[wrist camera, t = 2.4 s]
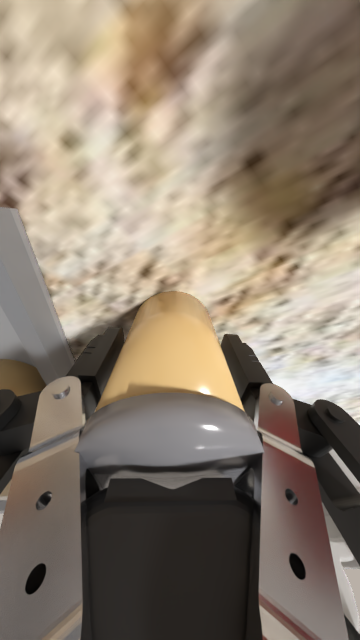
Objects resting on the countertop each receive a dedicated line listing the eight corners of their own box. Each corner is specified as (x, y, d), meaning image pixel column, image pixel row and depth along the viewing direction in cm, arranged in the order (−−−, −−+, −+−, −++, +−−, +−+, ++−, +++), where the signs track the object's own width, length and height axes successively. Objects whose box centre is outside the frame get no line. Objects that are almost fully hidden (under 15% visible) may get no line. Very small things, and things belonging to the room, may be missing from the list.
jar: (130, 285, 10) (28, 425, 3) (220, 292, 10) (308, 430, 3) (135, 353, 13) (91, 498, 6) (204, 356, 13) (235, 496, 6)
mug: (309, 445, 24) (408, 611, 14) (238, 440, 22) (292, 624, 12) (348, 421, 20) (527, 626, 10) (266, 411, 18) (380, 649, 8)
